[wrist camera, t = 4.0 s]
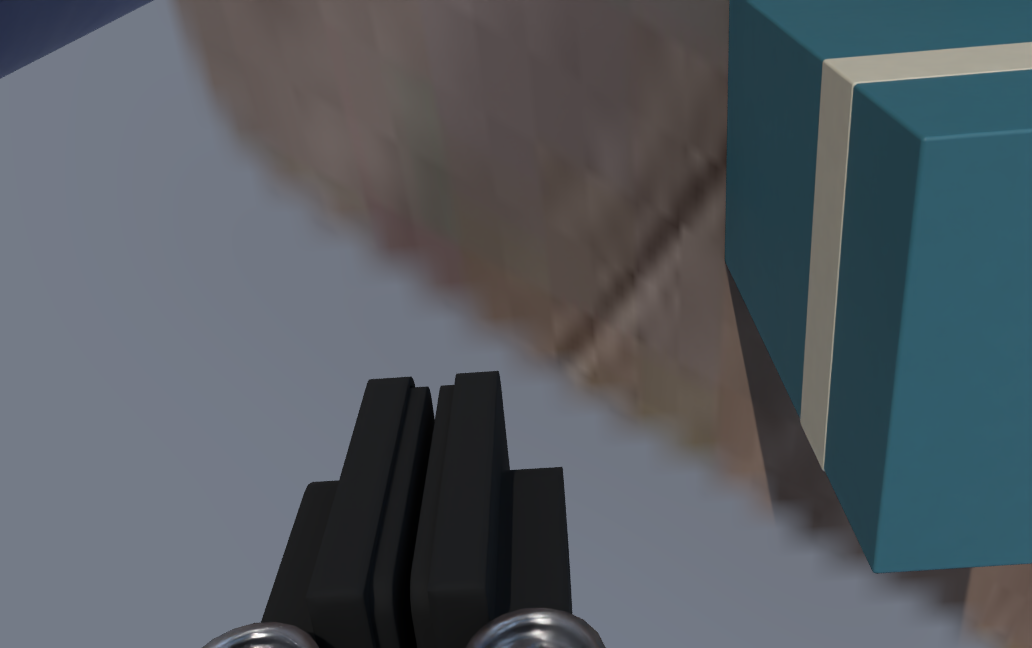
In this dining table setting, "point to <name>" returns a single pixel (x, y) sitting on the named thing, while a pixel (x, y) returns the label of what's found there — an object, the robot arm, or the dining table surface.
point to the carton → (894, 258)
